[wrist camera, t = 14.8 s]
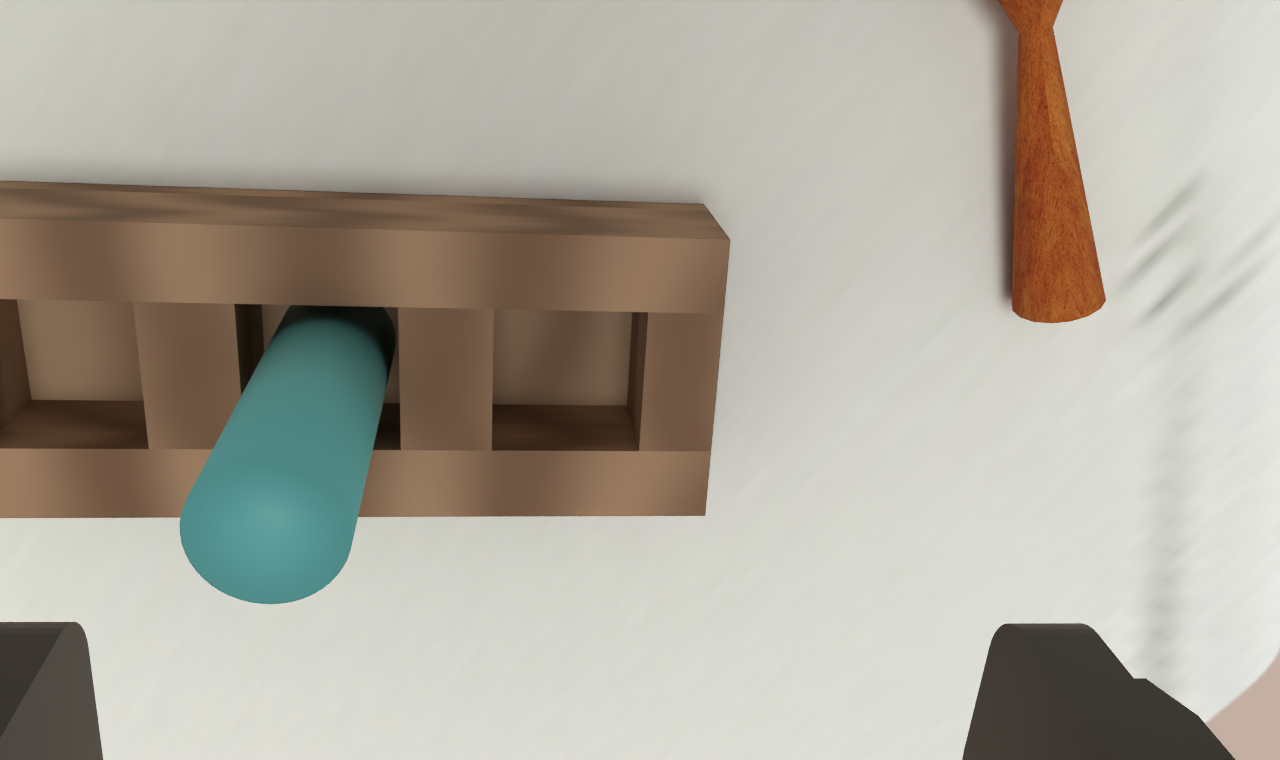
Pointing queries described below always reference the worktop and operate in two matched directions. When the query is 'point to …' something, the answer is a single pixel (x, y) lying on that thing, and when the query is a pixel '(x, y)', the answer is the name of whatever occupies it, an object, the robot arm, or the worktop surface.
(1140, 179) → the worktop surface
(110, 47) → the worktop surface
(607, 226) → the bore block
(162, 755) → the worktop surface
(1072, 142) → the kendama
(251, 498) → the pin
